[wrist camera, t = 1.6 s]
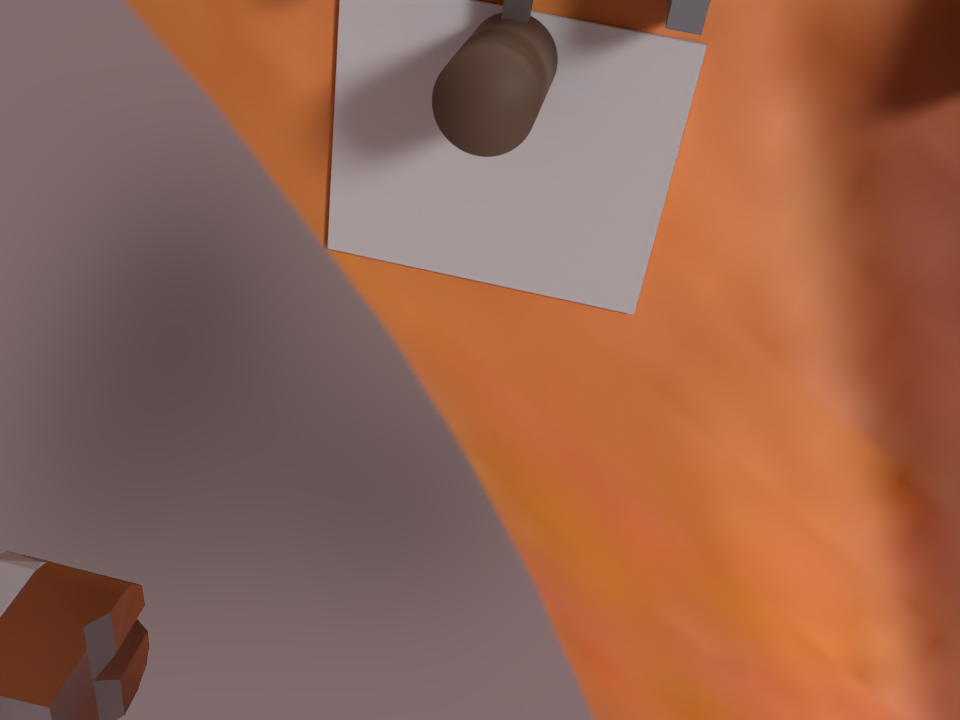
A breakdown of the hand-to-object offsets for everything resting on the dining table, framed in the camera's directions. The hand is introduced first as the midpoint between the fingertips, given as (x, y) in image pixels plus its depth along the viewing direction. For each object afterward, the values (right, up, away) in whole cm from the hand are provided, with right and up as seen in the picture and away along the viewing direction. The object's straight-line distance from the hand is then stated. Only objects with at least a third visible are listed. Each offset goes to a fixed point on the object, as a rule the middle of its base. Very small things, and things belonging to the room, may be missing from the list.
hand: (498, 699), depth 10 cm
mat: (0, +11, +22) cm, 25 cm away
